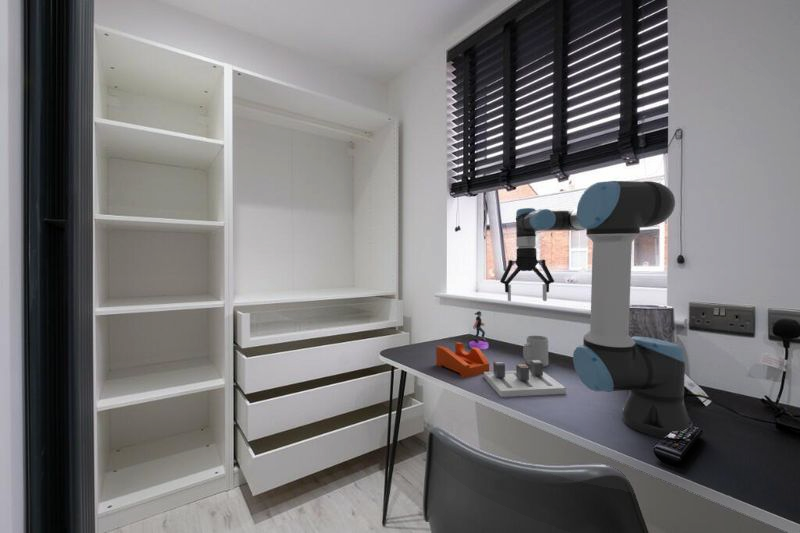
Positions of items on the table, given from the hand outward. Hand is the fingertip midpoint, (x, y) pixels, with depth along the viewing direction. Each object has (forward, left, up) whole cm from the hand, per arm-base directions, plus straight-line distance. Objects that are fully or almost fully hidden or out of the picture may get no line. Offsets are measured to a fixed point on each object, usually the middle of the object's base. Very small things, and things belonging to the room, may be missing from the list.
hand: (526, 300), depth 137 cm
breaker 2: (-16, +9, -25) cm, 31 cm away
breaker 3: (-12, +2, -25) cm, 28 cm away
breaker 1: (-12, +16, -25) cm, 32 cm away
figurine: (+34, +10, -28) cm, 45 cm away
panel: (-16, +9, -28) cm, 33 cm away
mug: (+5, -5, -28) cm, 29 cm away
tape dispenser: (+4, +26, -28) cm, 38 cm away
